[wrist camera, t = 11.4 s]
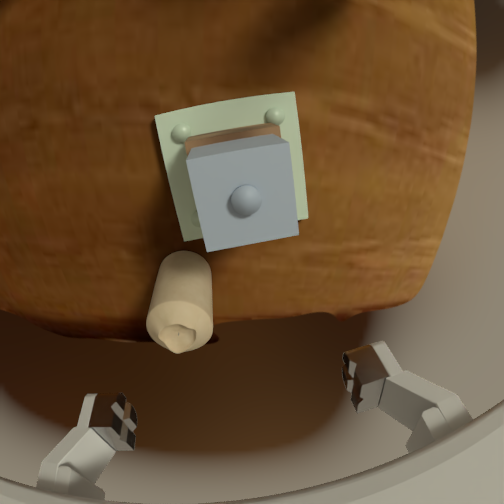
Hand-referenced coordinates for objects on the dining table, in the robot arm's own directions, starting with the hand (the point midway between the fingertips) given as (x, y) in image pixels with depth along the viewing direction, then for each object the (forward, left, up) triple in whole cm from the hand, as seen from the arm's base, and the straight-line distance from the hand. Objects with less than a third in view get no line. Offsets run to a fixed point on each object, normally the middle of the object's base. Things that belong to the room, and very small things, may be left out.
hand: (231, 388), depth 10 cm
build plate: (+2, +3, -21) cm, 21 cm away
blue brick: (+2, +3, -16) cm, 16 cm away
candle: (-5, -7, -21) cm, 23 cm away
